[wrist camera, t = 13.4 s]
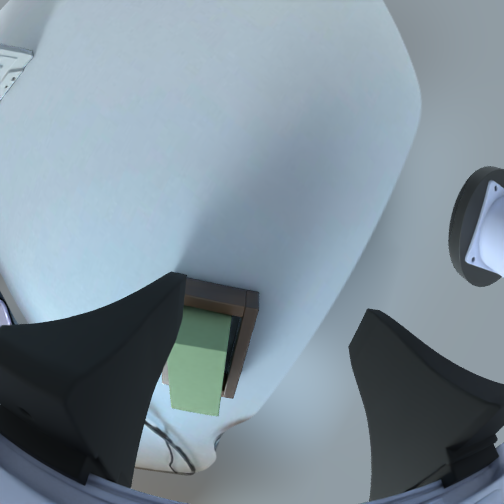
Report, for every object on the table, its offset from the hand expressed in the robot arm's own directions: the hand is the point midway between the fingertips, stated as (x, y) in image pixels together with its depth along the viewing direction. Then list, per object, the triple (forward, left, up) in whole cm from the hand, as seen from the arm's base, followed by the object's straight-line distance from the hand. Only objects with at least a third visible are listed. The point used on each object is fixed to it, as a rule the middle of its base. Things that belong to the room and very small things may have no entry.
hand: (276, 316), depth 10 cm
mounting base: (+3, +11, -10) cm, 15 cm away
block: (+3, +11, -10) cm, 15 cm away
